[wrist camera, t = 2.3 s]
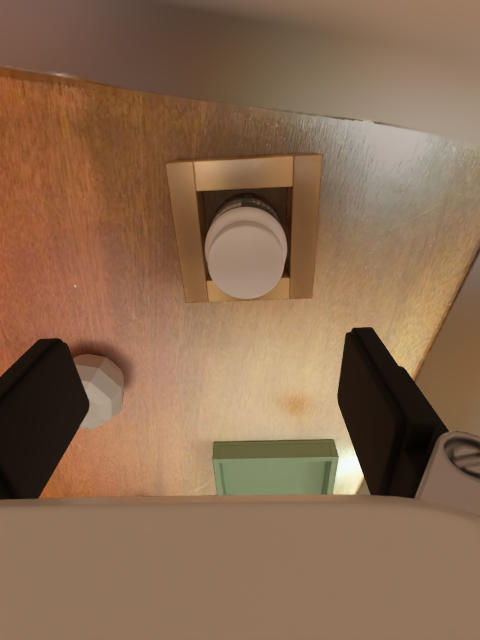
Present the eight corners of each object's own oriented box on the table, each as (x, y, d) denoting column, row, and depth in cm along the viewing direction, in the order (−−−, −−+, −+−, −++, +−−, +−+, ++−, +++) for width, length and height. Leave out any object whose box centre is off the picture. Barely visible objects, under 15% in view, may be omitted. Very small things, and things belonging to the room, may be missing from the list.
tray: (333, 439, 41) (338, 456, 39) (323, 511, 49) (327, 529, 47) (214, 442, 41) (212, 459, 39) (223, 513, 50) (222, 530, 47)
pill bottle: (291, 232, 28) (312, 273, 19) (241, 270, 30) (239, 323, 21) (251, 176, 26) (254, 195, 17) (199, 221, 27) (179, 258, 19)
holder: (313, 152, 25) (322, 153, 22) (305, 282, 30) (312, 298, 27) (174, 160, 25) (164, 162, 22) (191, 286, 30) (185, 303, 27)
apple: (55, 375, 36) (20, 419, 31) (78, 326, 33) (43, 365, 27) (120, 404, 38) (98, 450, 33) (148, 360, 35) (129, 403, 29)
